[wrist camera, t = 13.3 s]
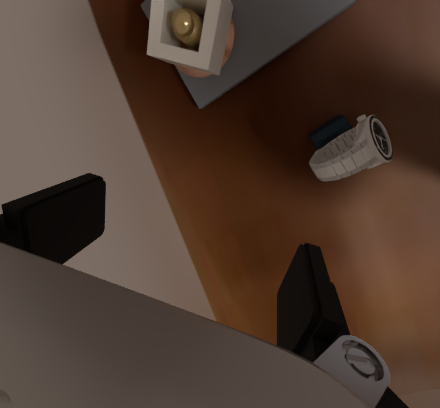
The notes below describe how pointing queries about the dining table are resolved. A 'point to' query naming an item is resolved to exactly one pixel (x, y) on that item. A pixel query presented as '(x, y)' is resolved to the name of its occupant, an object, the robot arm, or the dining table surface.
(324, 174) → the watch
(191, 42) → the hub
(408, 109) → the dining table surface
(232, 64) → the board
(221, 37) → the square hollow frame
